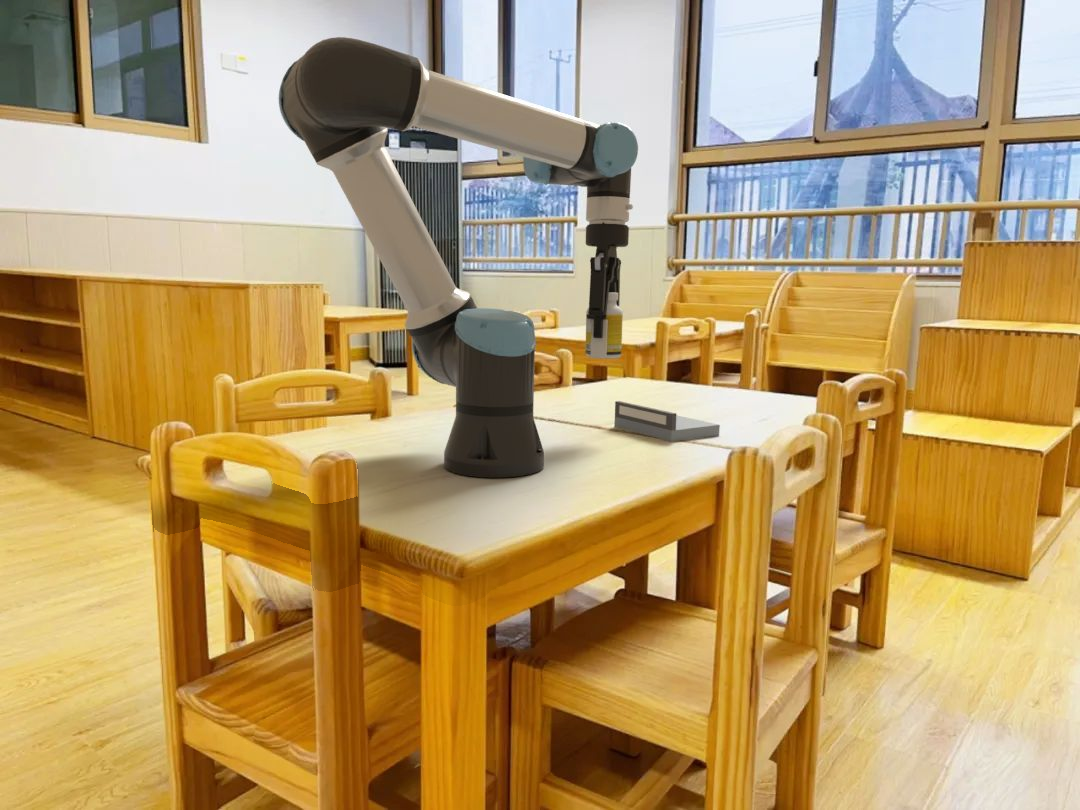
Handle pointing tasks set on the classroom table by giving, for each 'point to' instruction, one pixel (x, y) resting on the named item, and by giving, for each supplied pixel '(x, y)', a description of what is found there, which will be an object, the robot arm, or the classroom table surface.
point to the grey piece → (661, 423)
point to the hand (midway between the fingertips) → (603, 354)
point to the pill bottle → (609, 329)
